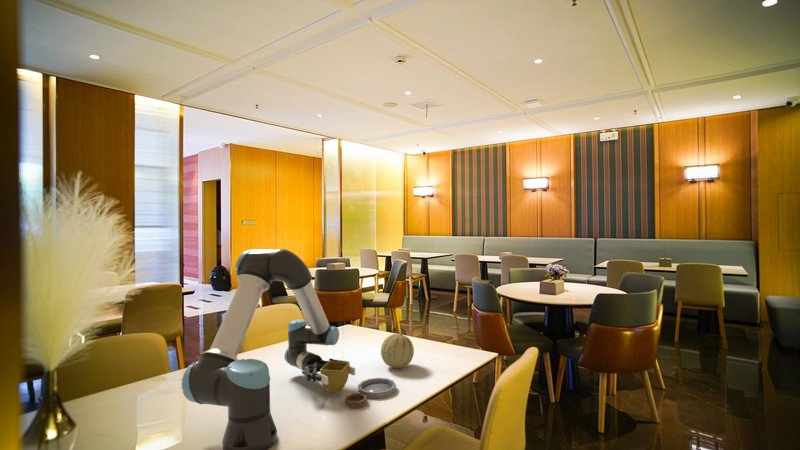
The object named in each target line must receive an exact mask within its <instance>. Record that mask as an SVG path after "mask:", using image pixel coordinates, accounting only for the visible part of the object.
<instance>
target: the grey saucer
mask: <svg viewBox="0 0 800 450" xmlns="http://www.w3.org/2000/svg"><path fill="white" fill-rule="evenodd" d="M396 389H397V384H396V383H395V381H394V380H393V379H390V378H387V377H385V378H383V377H374V378H373V377H372V378H368V379H365V380H363V381H361V382H359V384H358V385H357V390H358V393H362V394H364V395H366V396H367V399H383V398H388V397H389V396H392V395H393V394H395V392H396Z"/></svg>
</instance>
